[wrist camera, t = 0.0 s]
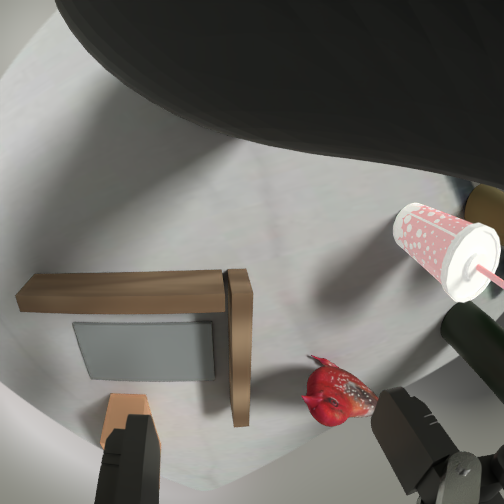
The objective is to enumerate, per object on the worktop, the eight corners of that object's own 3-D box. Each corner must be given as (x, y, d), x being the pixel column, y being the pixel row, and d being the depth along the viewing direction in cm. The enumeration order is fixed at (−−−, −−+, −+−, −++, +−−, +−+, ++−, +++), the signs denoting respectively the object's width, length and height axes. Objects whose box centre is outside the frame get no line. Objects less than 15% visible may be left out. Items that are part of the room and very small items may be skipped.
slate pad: (74, 322, 26) (72, 324, 26) (211, 321, 28) (211, 323, 28) (92, 376, 29) (91, 379, 28) (214, 377, 31) (214, 380, 30)
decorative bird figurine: (290, 326, 29) (323, 405, 20) (391, 380, 35) (428, 437, 26) (270, 347, 30) (295, 428, 21) (375, 396, 36) (408, 454, 27)
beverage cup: (403, 268, 29) (498, 353, 16) (374, 225, 27) (484, 306, 14) (444, 227, 28) (548, 291, 15) (420, 181, 26) (541, 232, 13)
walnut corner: (34, 273, 24) (15, 295, 20) (246, 268, 27) (253, 292, 23) (77, 396, 30) (68, 422, 26) (243, 398, 32) (248, 426, 29)
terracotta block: (111, 392, 30) (99, 442, 24) (145, 394, 31) (139, 445, 24) (131, 442, 34) (126, 487, 27) (161, 444, 34) (159, 489, 28)
